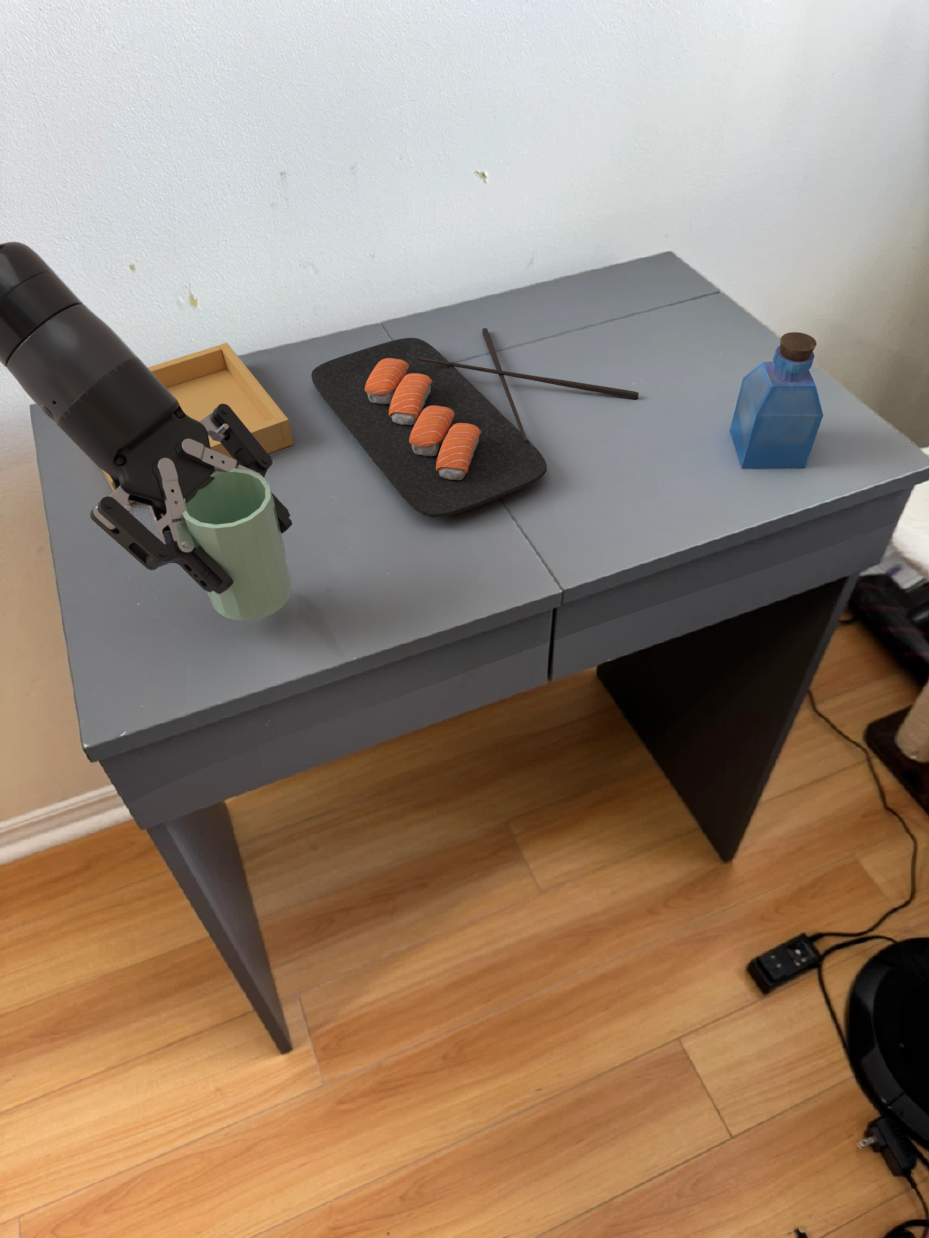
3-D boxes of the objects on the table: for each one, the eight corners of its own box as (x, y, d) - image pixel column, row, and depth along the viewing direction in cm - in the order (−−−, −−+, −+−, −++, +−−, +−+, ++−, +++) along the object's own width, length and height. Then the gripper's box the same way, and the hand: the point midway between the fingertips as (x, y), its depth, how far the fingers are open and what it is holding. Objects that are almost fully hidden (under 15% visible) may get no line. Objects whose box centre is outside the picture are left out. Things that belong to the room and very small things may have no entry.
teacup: (228, 633, 68) (197, 539, 61) (199, 582, 72) (166, 488, 65) (305, 600, 71) (284, 506, 63) (273, 552, 74) (250, 458, 67)
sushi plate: (303, 383, 97) (298, 353, 94) (532, 310, 106) (533, 280, 103) (426, 539, 80) (424, 507, 77) (684, 435, 89) (691, 403, 86)
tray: (121, 507, 84) (110, 482, 81) (74, 418, 93) (64, 393, 91) (293, 444, 90) (288, 419, 87) (232, 366, 99) (226, 342, 97)
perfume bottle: (805, 468, 86) (842, 360, 77) (741, 468, 86) (771, 360, 77) (790, 429, 90) (824, 323, 81) (729, 430, 90) (756, 323, 81)
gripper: (30, 420, 56) (216, 607, 61) (180, 316, 64) (333, 489, 69) (5, 462, 61) (177, 630, 66) (146, 362, 70) (290, 518, 75)
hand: (256, 558), depth 67 cm, fingers closed on teacup, 6 cm apart
